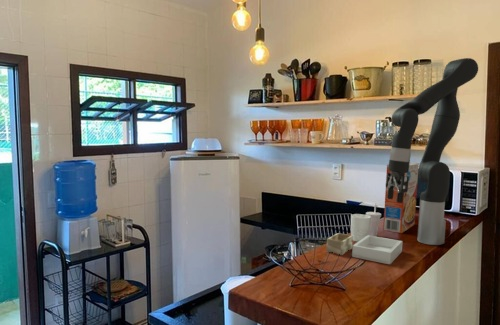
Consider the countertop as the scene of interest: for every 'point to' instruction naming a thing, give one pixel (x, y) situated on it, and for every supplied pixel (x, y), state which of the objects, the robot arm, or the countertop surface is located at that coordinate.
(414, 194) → the orange cereal box
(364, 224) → the white cup
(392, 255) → the white crate
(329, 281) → the countertop surface
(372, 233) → the smoothie
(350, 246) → the birch crate
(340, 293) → the countertop surface
